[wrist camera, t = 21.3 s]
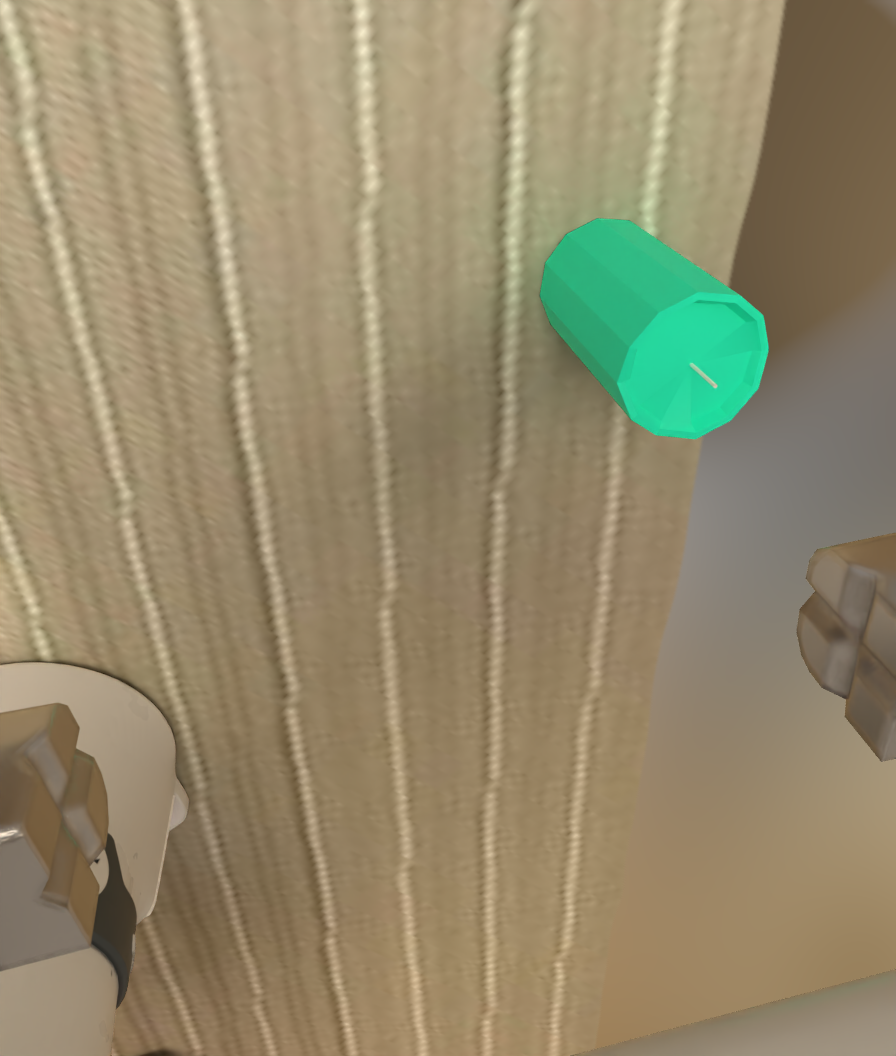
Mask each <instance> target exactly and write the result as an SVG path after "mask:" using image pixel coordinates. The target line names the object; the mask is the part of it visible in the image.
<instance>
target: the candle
mask: <svg viewBox="0 0 896 1056" xmlns="http://www.w3.org/2000/svg"><path fill="white" fill-rule="evenodd" d="M540 298H541V301H542V303H543V306H544V309H545V311H546V314H547V317H548V319H549V322H550V324H551V325H552V327H553V328H554V329H555V330H556V331H557V333H558V334H559V335H560V336H561V337H562V339H563V340H564V341H565V342H566V343H567V344H568V346H569V347H570V348H571V349H572V350H573V352H574V353H575V354H576V355H577V356H578V357H579V359H580V360H581V361H582V362H583V363H584V365H585V366H586V367H587V368H588V369H589V370H590V372H591V373H592V374H593V375H594V376H595V378H596V379H597V380H598V381H599V382H600V383H601V385H602V386H603V387H604V388H605V389H606V391H607V392H608V393H609V394H610V395H611V396H612V398H613V399H614V400H615V401H616V402H617V404H618V405H619V406H620V407H621V408H622V409H623V411H624V412H625V413H626V414H627V415H628V417H629V418H630V419H631V420H632V421H634V422H635V423H637V424H639V425H640V426H642V427H644V428H645V429H647V430H648V431H650V432H652V433H653V434H655V435H658V436H668V437H678V438H688V439H697V438H699V437H701V436H703V435H705V434H707V433H708V432H710V431H712V430H714V429H716V428H718V427H719V426H721V425H723V424H725V423H727V422H729V421H731V420H732V419H733V417H734V416H735V415H736V414H737V413H738V412H739V411H740V409H741V408H742V407H743V406H744V405H745V404H746V402H747V401H748V400H749V399H750V398H751V397H752V396H753V394H754V393H755V392H756V391H757V390H758V388H759V384H760V381H761V377H762V373H763V370H764V366H765V362H766V358H767V354H768V351H769V347H768V340H767V334H766V328H765V321H764V316H763V315H762V314H761V313H760V312H759V311H758V310H756V309H755V308H754V307H753V306H752V305H751V304H749V303H748V302H747V301H746V300H745V299H744V298H743V297H741V296H740V295H738V294H737V293H736V292H734V291H733V290H731V289H730V288H728V287H727V286H726V285H724V284H723V283H721V282H720V281H718V280H717V279H715V278H714V277H712V276H711V275H709V274H708V273H706V272H705V271H703V270H702V269H700V268H699V267H697V266H696V265H694V264H693V263H692V262H690V261H689V260H687V259H686V258H684V257H683V256H681V255H680V254H678V253H677V252H675V251H674V250H672V249H671V248H669V247H668V246H666V245H665V244H663V243H662V242H660V241H659V240H658V239H656V238H655V237H653V236H652V235H650V234H649V233H647V232H646V231H644V230H643V229H641V228H640V227H638V226H637V225H635V224H634V223H632V222H631V221H629V220H616V219H601V218H597V219H595V220H593V221H591V222H589V223H587V224H585V225H583V226H581V227H579V228H577V229H575V230H573V231H571V232H569V233H567V234H566V235H565V237H564V238H563V239H562V241H561V242H560V243H559V245H558V246H557V248H556V249H555V250H554V252H553V253H552V254H551V256H550V257H549V258H548V260H547V261H546V262H545V267H544V273H543V279H542V285H541V291H540Z"/></svg>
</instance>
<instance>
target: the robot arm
mask: <svg viewBox="0 0 896 1056" xmlns="http://www.w3.org/2000/svg"><path fill="white" fill-rule="evenodd" d="M806 579H807V581H808V582H809V583H810V585H811V586H812V587H813V588H814V590H815V592H814V593H813V594H812V596H811V597H810V598H809V599H808V600H807V601H806V603H805V604H804V605H803V606H802V607H801V608H800V611H799V618H798V626H797V637H798V641H799V646H800V652H801V655H802V657H803V659H804V661H805V664H806V666H807V668H808V670H809V672H810V673H811V674H812V676H813V677H814V678H815V680H816V681H817V682H818V683H819V685H820V686H821V687H822V688H823V689H825V690H828V691H830V692H832V693H834V694H836V695H838V696H840V697H842V698H844V699H846V708H845V717H846V719H847V720H848V721H849V722H850V724H851V725H852V726H853V727H854V729H855V730H856V731H857V732H858V734H859V735H860V736H861V737H862V738H863V740H864V741H865V742H866V743H867V745H868V746H869V747H870V748H871V750H872V751H873V752H874V753H875V755H876V756H877V757H878V758H879V759H880V761H881V762H883V761H888V760H892V759H896V533H892V534H887V535H882V536H877V537H873V538H868V539H863V540H858V541H853V542H849V543H844V544H839V545H834V546H830V547H825V548H820V549H817V550H816V552H815V553H814V555H813V556H812V558H811V559H810V561H809V565H808V571H807V575H806ZM175 761H176V746H175V740H174V737H173V733H172V731H171V728H170V726H169V724H168V722H167V721H166V719H165V718H164V716H163V715H162V713H161V712H160V711H159V710H158V708H157V707H156V706H155V705H154V704H153V703H152V702H151V701H149V700H148V699H147V698H146V697H145V696H143V695H142V694H141V693H139V692H138V691H136V690H135V689H134V688H132V687H130V686H128V685H127V684H125V683H123V682H121V681H119V680H117V679H115V678H112V677H110V676H107V675H105V674H102V673H99V672H96V671H93V670H89V669H85V668H81V667H76V666H71V665H65V664H57V663H43V662H24V663H12V664H3V665H0V1056H111V1050H112V1041H113V1032H114V1022H115V1013H116V1009H117V1008H118V1007H119V1005H120V1004H121V1002H122V1000H123V999H124V997H125V994H126V991H127V987H128V981H129V975H130V973H131V971H132V968H133V964H134V958H135V950H136V936H135V931H136V925H137V924H138V923H139V922H141V921H142V920H143V918H145V917H148V916H149V915H150V914H151V912H152V911H153V909H154V906H155V903H156V899H157V894H158V888H159V883H160V878H161V872H162V867H163V861H164V856H165V850H166V845H167V839H168V833H169V831H170V830H172V829H174V828H175V827H177V826H178V825H180V824H181V823H182V822H183V821H184V820H185V819H186V816H187V812H188V807H189V799H188V796H187V794H186V792H185V790H184V788H183V787H182V785H181V783H180V782H179V780H178V779H177V777H176V773H175ZM571 1056H896V969H895V970H891V971H887V972H883V973H880V974H876V975H872V976H869V977H865V978H861V979H857V980H853V981H849V982H846V983H842V984H838V985H834V986H831V987H827V988H823V989H819V990H815V991H812V992H808V993H804V994H800V995H797V996H793V997H790V998H785V999H782V1000H778V1001H774V1002H770V1003H766V1004H763V1005H759V1006H755V1007H751V1008H748V1009H744V1010H740V1011H736V1012H733V1013H729V1014H725V1015H721V1016H718V1017H714V1018H710V1019H706V1020H703V1021H699V1022H695V1023H691V1024H687V1025H684V1026H680V1027H676V1028H673V1029H669V1030H665V1031H661V1032H657V1033H654V1034H650V1035H646V1036H643V1037H639V1038H635V1039H631V1040H628V1041H624V1042H620V1043H616V1044H613V1045H609V1046H605V1047H601V1048H597V1049H594V1050H590V1051H586V1052H582V1053H579V1054H575V1055H571Z"/></svg>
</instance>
